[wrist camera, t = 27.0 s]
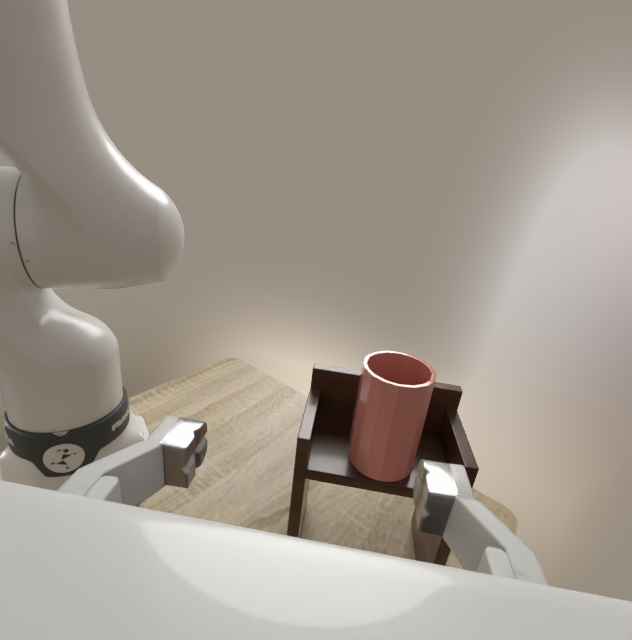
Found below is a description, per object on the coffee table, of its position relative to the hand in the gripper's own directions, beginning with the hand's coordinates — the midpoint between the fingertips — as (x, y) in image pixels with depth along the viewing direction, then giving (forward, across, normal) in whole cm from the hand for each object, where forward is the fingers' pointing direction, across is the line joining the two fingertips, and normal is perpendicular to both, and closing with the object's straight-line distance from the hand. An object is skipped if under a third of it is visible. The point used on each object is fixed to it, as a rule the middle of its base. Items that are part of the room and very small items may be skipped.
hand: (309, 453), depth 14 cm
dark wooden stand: (+22, -6, +32) cm, 39 cm away
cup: (+20, -6, +17) cm, 27 cm away
